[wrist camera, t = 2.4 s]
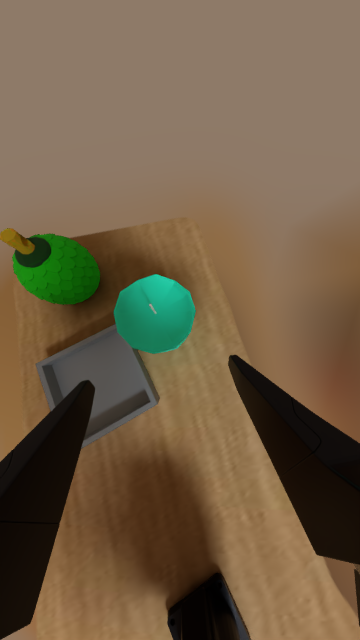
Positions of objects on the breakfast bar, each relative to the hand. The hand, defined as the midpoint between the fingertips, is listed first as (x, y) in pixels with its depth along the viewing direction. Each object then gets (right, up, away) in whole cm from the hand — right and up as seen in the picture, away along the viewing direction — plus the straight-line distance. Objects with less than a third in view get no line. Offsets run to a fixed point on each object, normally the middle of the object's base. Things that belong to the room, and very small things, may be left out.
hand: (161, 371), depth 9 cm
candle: (-1, +2, +12) cm, 12 cm away
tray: (-9, -5, +10) cm, 14 cm away
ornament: (-14, +8, +13) cm, 20 cm away
